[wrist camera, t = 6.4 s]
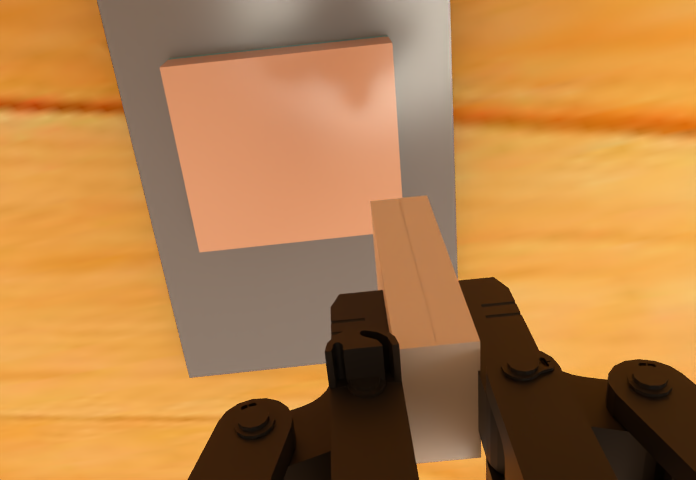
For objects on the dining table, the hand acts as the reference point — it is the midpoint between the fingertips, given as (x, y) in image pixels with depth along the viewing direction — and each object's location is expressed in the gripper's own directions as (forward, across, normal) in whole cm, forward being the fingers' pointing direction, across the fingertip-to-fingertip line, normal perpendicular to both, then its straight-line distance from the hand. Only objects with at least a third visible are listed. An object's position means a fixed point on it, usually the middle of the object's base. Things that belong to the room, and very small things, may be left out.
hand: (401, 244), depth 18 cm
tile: (+11, +1, -1) cm, 11 cm away
